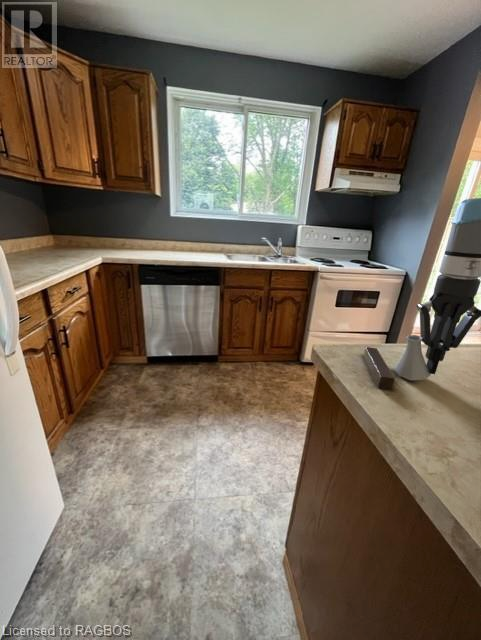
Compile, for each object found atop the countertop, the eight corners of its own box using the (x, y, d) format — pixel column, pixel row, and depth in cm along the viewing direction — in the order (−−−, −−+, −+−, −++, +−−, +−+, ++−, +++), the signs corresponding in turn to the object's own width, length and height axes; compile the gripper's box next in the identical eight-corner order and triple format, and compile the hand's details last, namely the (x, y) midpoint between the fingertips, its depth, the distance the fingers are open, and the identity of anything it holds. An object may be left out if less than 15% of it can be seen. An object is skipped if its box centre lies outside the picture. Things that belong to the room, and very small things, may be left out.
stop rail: (374, 357, 77) (376, 348, 76) (391, 389, 63) (395, 378, 61) (363, 356, 78) (365, 346, 77) (377, 387, 63) (380, 376, 62)
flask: (389, 370, 71) (390, 335, 68) (412, 363, 72) (415, 329, 69) (410, 384, 65) (413, 346, 61) (436, 377, 66) (440, 339, 62)
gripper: (435, 277, 56) (408, 375, 64) (504, 281, 54) (467, 383, 62) (420, 271, 63) (397, 361, 71) (481, 275, 61) (450, 367, 69)
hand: (430, 371), depth 67 cm, fingers closed
